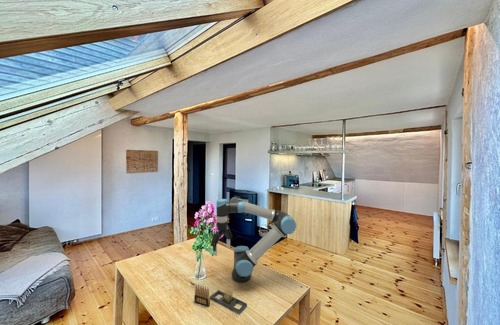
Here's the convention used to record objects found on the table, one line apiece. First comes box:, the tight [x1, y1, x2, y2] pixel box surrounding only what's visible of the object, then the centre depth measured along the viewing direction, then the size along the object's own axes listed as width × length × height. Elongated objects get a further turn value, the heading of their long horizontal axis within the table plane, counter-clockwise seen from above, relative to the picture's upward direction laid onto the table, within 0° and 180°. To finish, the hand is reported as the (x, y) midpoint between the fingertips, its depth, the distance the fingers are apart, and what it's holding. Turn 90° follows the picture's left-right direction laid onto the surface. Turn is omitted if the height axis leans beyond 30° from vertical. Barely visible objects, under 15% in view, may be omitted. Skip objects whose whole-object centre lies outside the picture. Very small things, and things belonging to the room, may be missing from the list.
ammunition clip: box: [193, 283, 211, 308], centre depth 128 cm, size 11×2×12 cm, turn 67°
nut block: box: [224, 289, 234, 304], centre depth 129 cm, size 4×4×7 cm
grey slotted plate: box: [209, 289, 248, 315], centre depth 129 cm, size 8×24×2 cm, turn 56°
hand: (222, 251), depth 142 cm, fingers open, 13 cm apart
